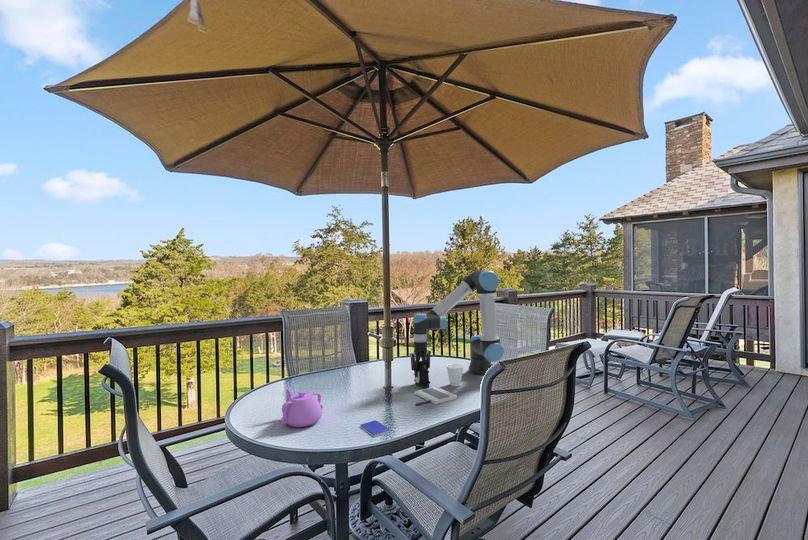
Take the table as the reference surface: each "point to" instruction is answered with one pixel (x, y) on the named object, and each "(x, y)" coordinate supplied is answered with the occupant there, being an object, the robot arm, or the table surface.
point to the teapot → (301, 409)
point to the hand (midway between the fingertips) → (421, 381)
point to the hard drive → (375, 428)
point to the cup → (455, 374)
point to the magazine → (423, 375)
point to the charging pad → (435, 395)
